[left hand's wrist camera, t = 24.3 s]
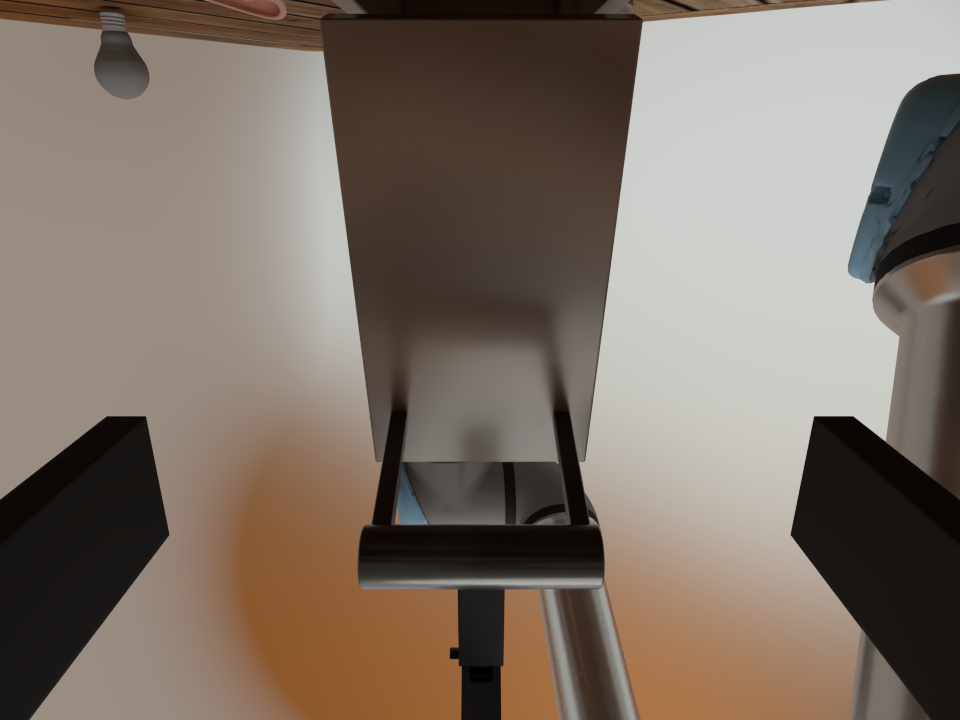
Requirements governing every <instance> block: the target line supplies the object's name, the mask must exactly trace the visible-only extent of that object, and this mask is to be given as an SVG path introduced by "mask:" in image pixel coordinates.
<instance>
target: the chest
mask: <svg viewBox="0 0 960 720" xmlns="http://www.w3.org/2000/svg"><path fill="white" fill-rule="evenodd" d="M332 1H333V2H335V3H336V4H337V5H338V6H339V7H340V8H342V9H343V10H344V11H345V12H346V13H347V14H615V13H616V12H617V11H618V10H619V9H621V8H622V7H623V6H624V5H625V4H627V3H628V2H629V1H630V0H332Z"/></svg>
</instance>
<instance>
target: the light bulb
mask: <svg viewBox="0 0 960 720" xmlns="http://www.w3.org/2000/svg"><path fill="white" fill-rule="evenodd" d="M100 15H101V16H102V17H100V18H102V21H101V22H103V25H102V31H103V32H102V34H101V46H100V49H99V52H98V54H97V57H96V60H95V64H94V71H95V76H96V78H97V80H98V82H99V83H100V85H101V86H102V87H103V88H104V89H105V90H106V91H107V92H109V93H110V94H112V95H113V96H116V97H118V98H122V99H132V98H136V97H138V96H140V95H141V94H142V93H143V92H144V91H145V90H146V88H147V86H148V83H149V72H148V69H147V66H146V64H145V62H144V61H143V60H142V58H141V57H140V55H139V54H138V53H137V51H136V50H135V48H134V46H133V44H132V40H131V38H130V36H129V34H128V33H127V29H126V27H125V25H126V24H124V22H125V20H123V18H125V17H124V14H122V13H120V12H118V11H117V10H114V9H106V10H104V11H102V12H101V13H100Z"/></svg>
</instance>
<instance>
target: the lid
mask: <svg viewBox="0 0 960 720" xmlns="http://www.w3.org/2000/svg"><path fill="white" fill-rule="evenodd" d="M642 23H643V20H642V19H641V18H640V17H638V16H637V15H635V14H327V15H325V16H324V17H322V18H321V19H320V28H321V36H322V44H323V52H324V60H325V67H326V75H327V83H328V91H329V99H330V107H331V115H332V122H333V130H334V138H335V146H336V154H337V161H338V169H339V177H340V185H341V193H342V201H343V209H344V216H345V224H346V232H347V240H348V248H349V256H350V263H351V271H352V279H353V287H354V295H355V303H356V310H357V318H358V326H359V334H360V342H361V350H362V358H363V365H364V373H365V381H366V389H367V397H368V404H369V412H370V420H371V428H372V436H373V444H374V452H375V459H376V462H382V467H381V472H380V478H379V484H378V490H377V496H376V501H375V507H374V513H373V518H372V524H371V525H364V526H363V529H362V531H361V535H360V540H359V548H358V580H359V585H360V588H361V589H601V588H602V585H603V581H604V571H605V559H604V546H603V539H602V534H601V531H600V528H599V526H598V525H596V524H590V520H589V514H588V509H587V503H586V498H585V492H584V487H583V481H582V476H581V470H580V465H579V462H584V461H585V457H586V450H587V442H588V434H589V427H590V419H591V412H592V404H593V396H594V389H595V381H596V374H597V366H598V358H599V351H600V343H601V335H602V328H603V320H604V313H605V305H606V297H607V289H608V282H609V274H610V267H611V259H612V251H613V244H614V236H615V229H616V221H617V213H618V206H619V198H620V191H621V183H622V175H623V168H624V160H625V152H626V145H627V137H628V129H629V122H630V114H631V107H632V99H633V91H634V84H635V76H636V69H637V61H638V53H639V45H640V38H641V30H642ZM403 462H559V469H560V476H561V483H562V490H563V497H564V504H565V510H566V517H567V524H394V523H395V516H396V508H397V501H398V494H399V487H400V479H401V472H402V465H403Z"/></svg>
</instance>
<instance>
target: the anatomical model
mask: <svg viewBox="0 0 960 720" xmlns="http://www.w3.org/2000/svg"><path fill="white" fill-rule="evenodd" d="M205 1H208V2H211V3H215V4H218V5H222V6H225V7H228V8H231V9H235V10H238V11H241V12H244V13H248V14H251V15H255V16H258V17H262V18H267V19H274V20H276V19H282V18H284V17H285V15H286V12H287V8H286V3H285V0H205Z"/></svg>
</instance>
